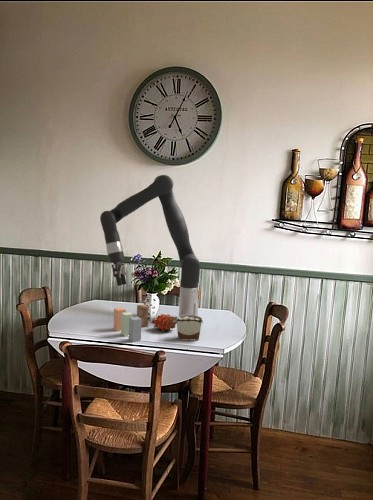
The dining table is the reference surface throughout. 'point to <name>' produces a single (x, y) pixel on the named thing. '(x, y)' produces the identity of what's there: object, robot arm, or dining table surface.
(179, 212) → the robot arm
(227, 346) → the dining table surface
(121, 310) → the terracotta block
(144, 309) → the walnut block
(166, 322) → the dragon fruit
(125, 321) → the sage block
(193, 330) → the food container
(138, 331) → the slate block
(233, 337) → the dining table surface
